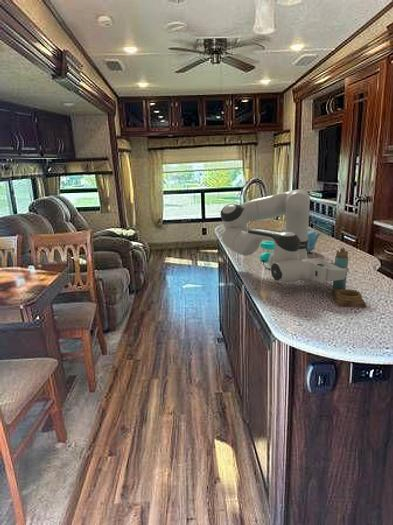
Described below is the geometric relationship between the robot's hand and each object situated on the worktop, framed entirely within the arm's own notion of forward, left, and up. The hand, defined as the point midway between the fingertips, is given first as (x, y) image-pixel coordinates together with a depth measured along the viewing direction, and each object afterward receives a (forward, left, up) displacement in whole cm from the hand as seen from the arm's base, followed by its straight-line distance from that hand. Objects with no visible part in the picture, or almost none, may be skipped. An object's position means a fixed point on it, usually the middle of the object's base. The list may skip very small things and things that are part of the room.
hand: (342, 267), depth 145 cm
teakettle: (-11, +67, -10) cm, 68 cm away
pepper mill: (-1, 0, -10) cm, 10 cm away
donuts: (-30, +46, -10) cm, 55 cm away
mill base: (0, -12, -10) cm, 16 cm away
